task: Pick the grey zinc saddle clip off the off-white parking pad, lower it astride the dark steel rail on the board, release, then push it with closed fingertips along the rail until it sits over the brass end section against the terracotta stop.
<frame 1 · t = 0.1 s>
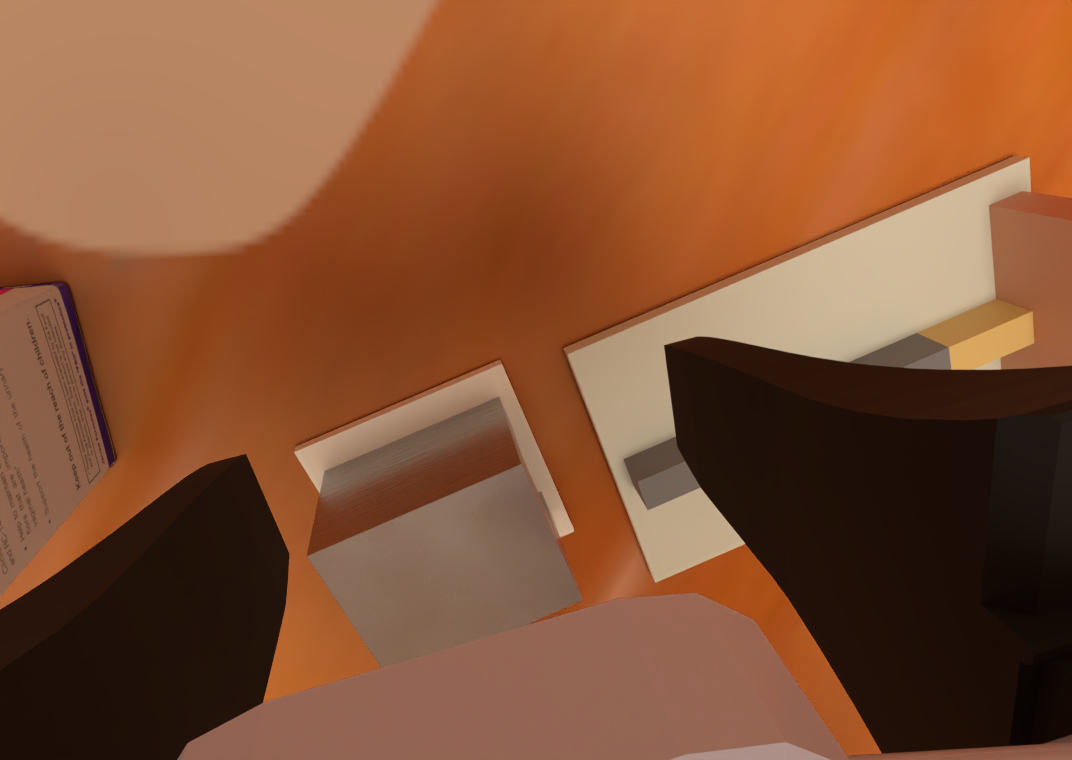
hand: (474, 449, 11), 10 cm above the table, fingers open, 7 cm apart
clip: (443, 494, 23), resting on pad
rail board: (804, 386, 24), on the table
pad: (443, 488, 23), on the table
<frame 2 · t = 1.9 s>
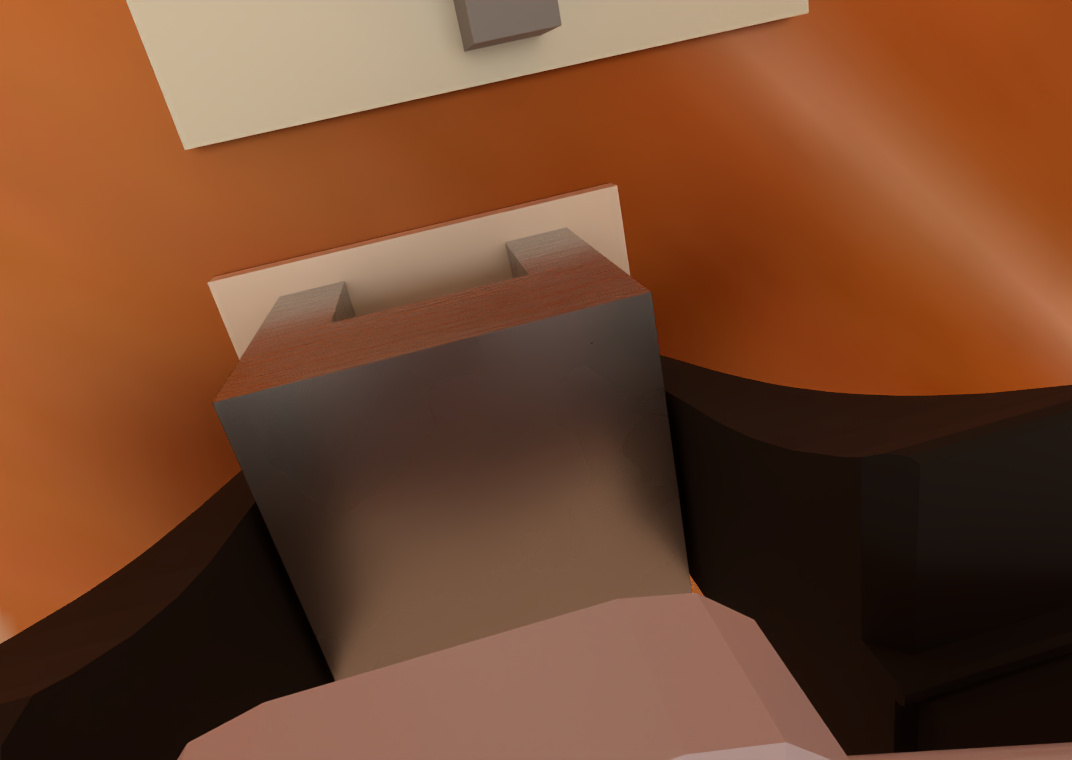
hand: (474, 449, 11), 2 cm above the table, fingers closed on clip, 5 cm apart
clip: (467, 415, 13), resting on pad, touching gripper
pad: (465, 406, 13), on the table
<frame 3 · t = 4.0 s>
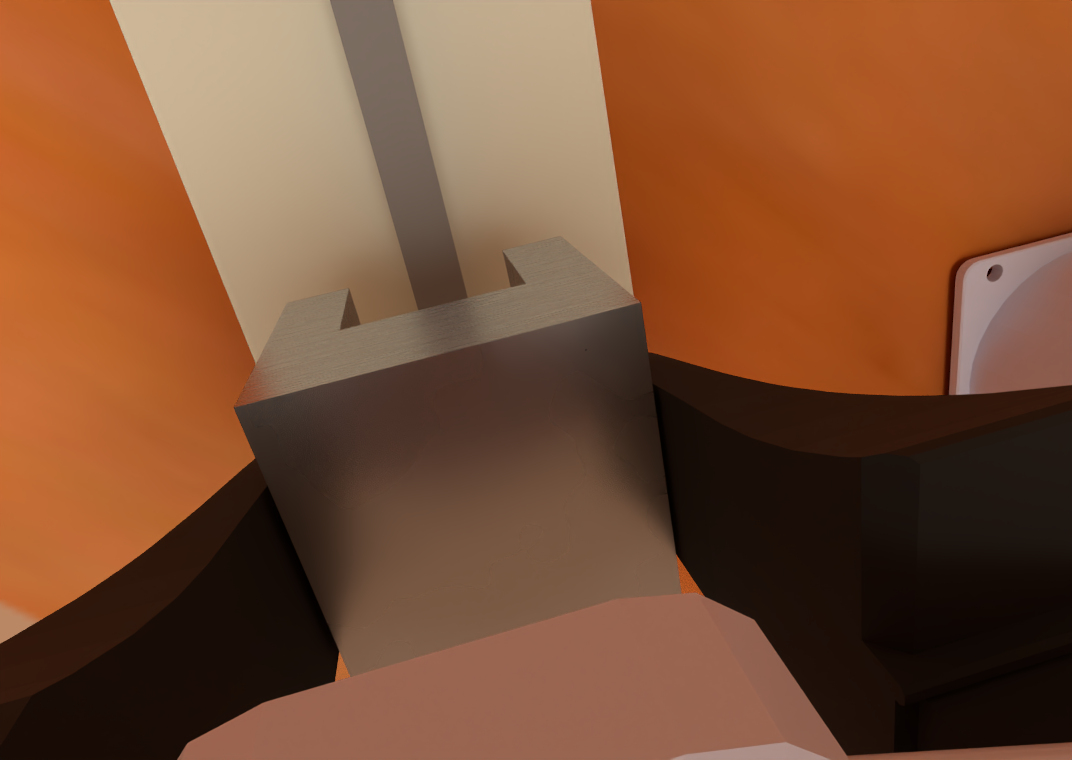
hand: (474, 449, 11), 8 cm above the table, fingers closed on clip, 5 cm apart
clip: (466, 414, 13), point 6 cm above the table, touching gripper
rail board: (408, 169, 17), on the table
when the fingers open (2 cm above the table, at t = 5.8 s): clip stays where it is, resting on rail board.
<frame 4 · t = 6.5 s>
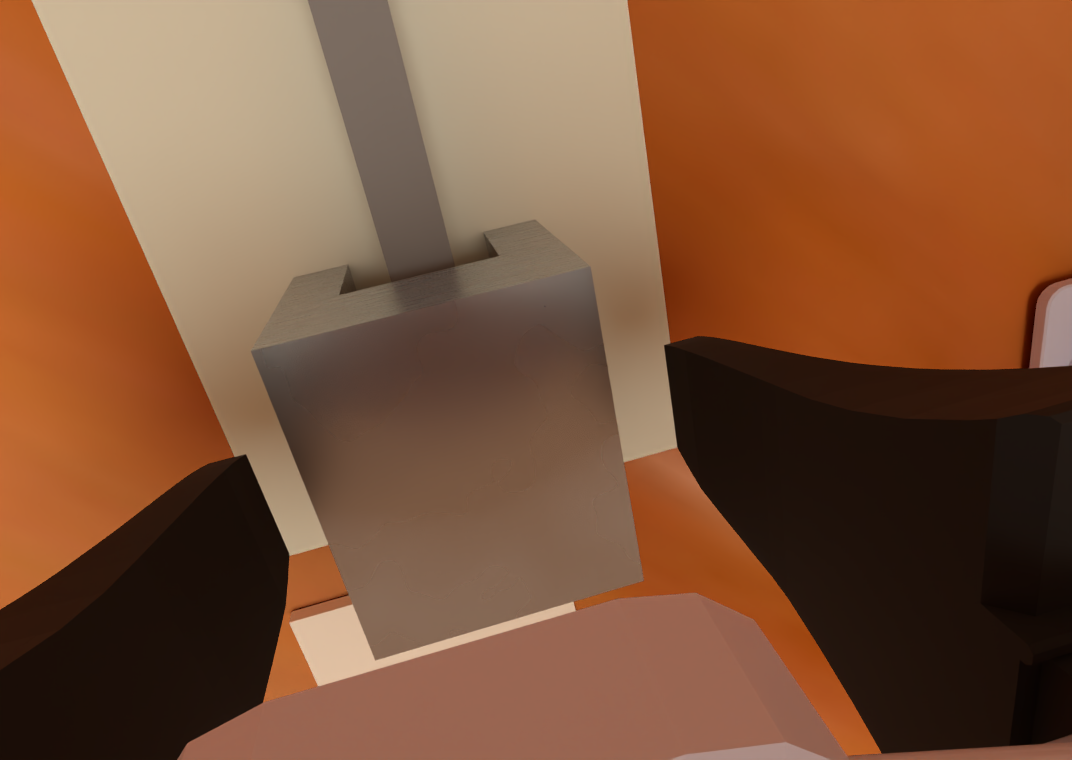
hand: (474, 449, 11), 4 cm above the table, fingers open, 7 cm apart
clip: (452, 379, 15), point 1 cm above the table, touching rail board
rail board: (400, 182, 14), on the table
pad: (459, 670, 19), on the table
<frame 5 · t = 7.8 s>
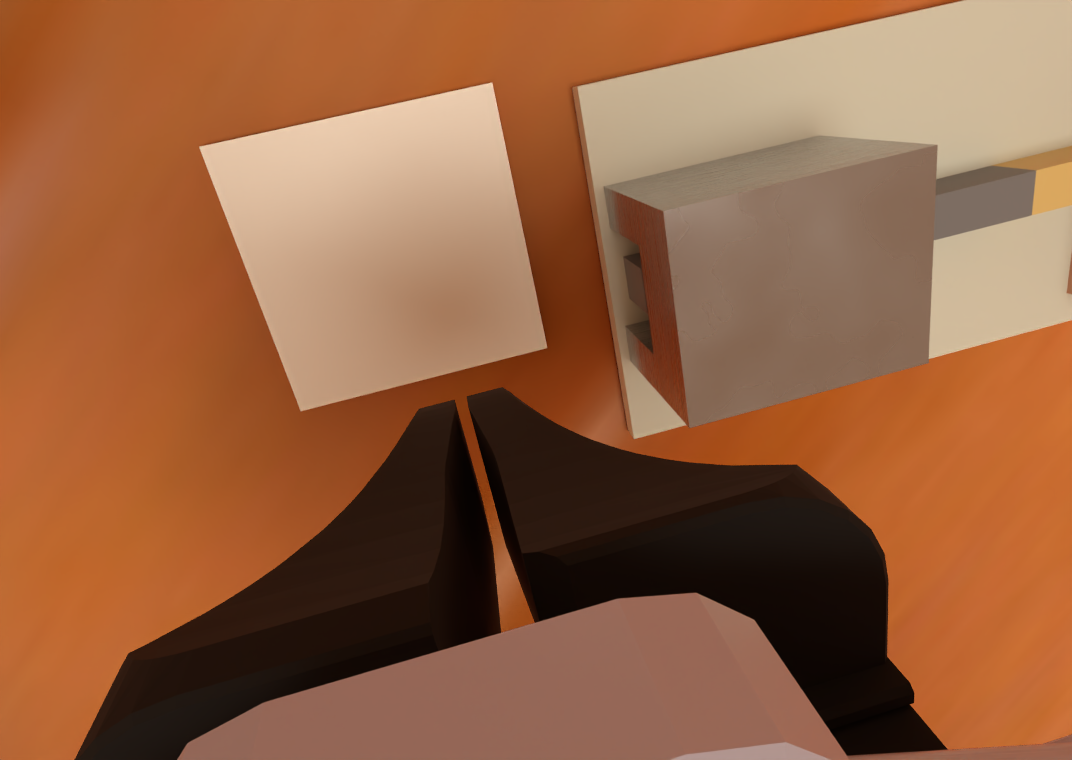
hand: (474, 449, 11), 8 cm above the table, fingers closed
clip: (720, 252, 19), point 1 cm above the table, touching rail board
rail board: (849, 215, 20), on the table
pad: (390, 254, 18), on the table
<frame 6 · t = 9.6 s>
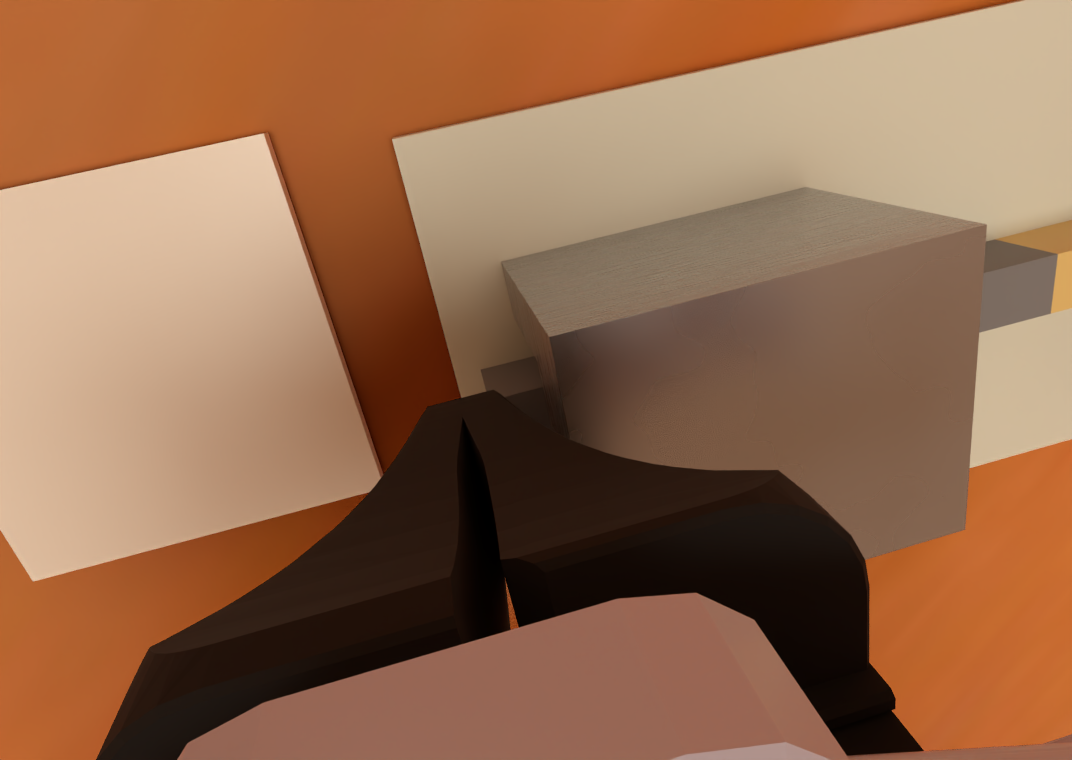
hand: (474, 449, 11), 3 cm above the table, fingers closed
clip: (672, 345, 14), point 1 cm above the table, touching gripper, rail board
rail board: (801, 304, 15), on the table
pad: (145, 369, 13), on the table
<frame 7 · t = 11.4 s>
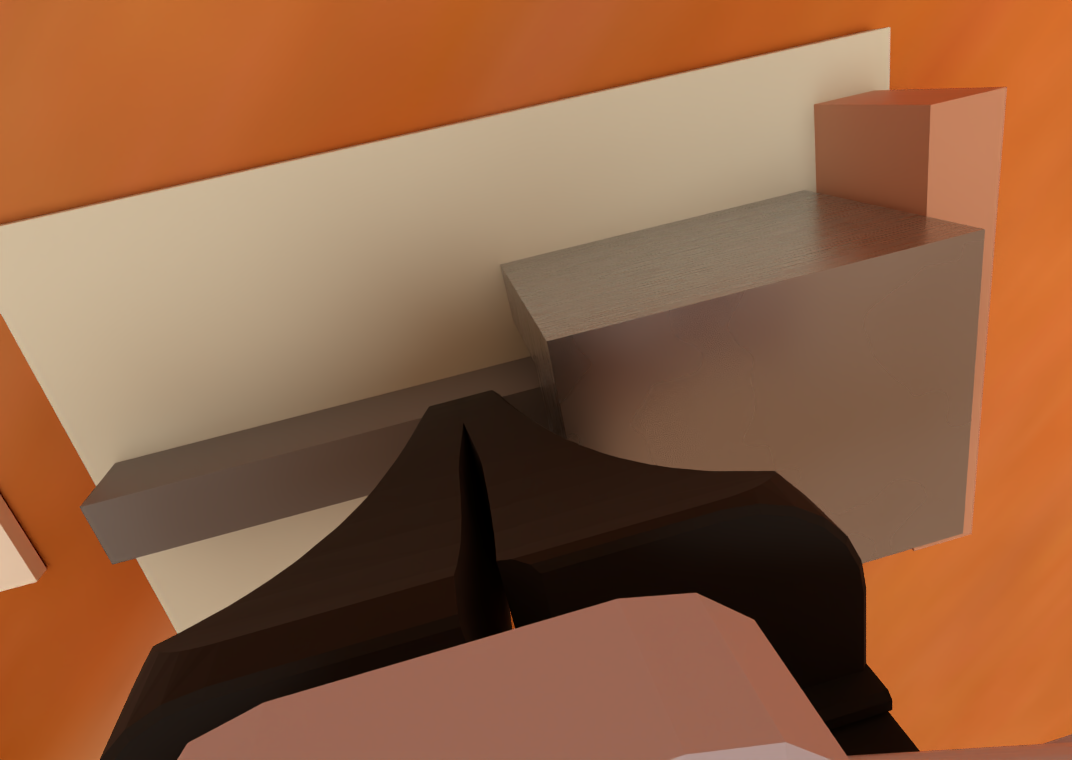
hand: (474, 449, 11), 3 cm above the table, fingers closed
clip: (671, 348, 14), point 1 cm above the table, touching gripper, rail board
rail board: (486, 384, 14), on the table
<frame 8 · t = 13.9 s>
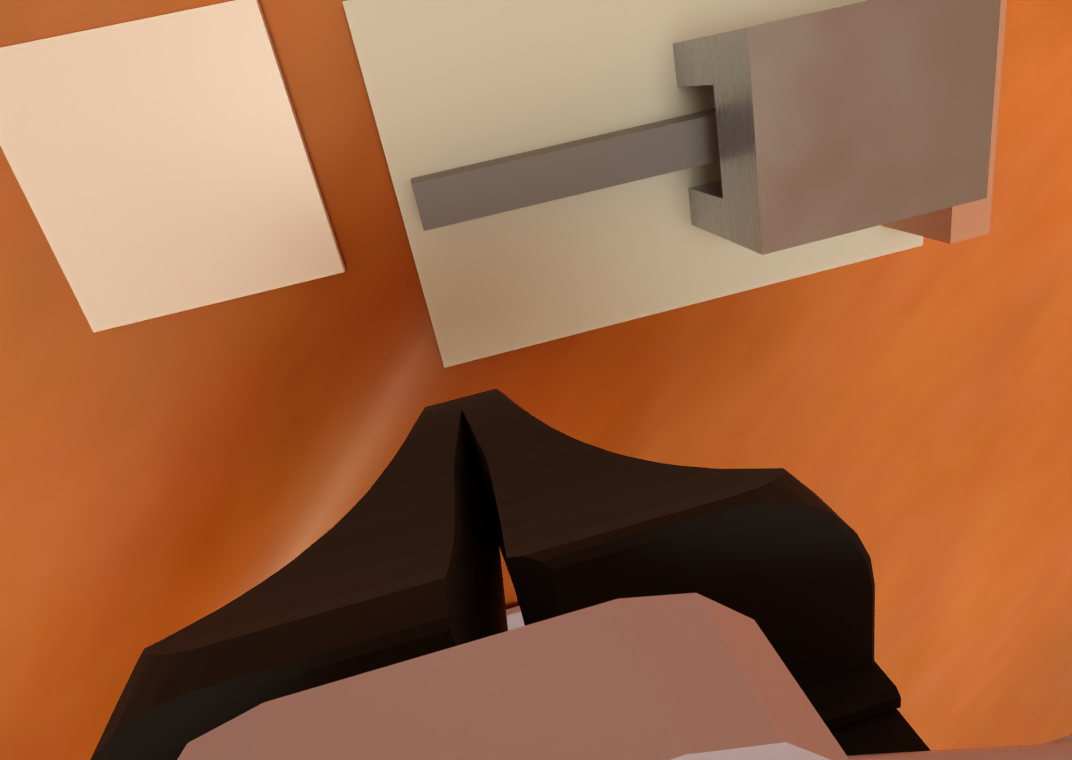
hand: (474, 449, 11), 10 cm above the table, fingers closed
clip: (780, 116, 20), point 1 cm above the table, touching rail board
rail board: (649, 143, 20), on the table
pad: (173, 173, 18), on the table
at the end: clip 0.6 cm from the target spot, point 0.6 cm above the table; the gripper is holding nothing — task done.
